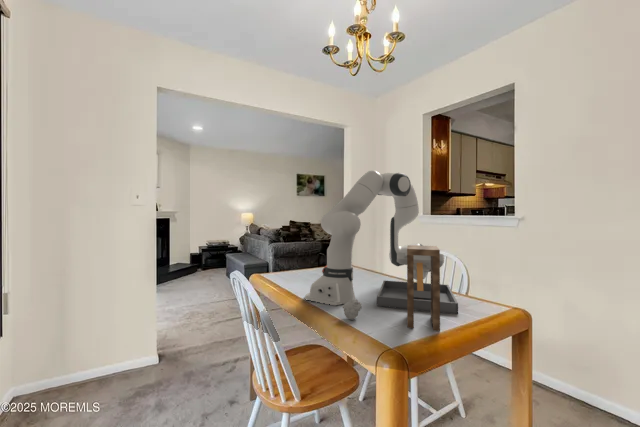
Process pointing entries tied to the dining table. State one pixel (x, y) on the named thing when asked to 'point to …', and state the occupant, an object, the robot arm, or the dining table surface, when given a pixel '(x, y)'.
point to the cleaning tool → (421, 285)
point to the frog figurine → (352, 309)
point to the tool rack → (435, 283)
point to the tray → (396, 297)
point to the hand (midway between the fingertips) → (420, 252)
